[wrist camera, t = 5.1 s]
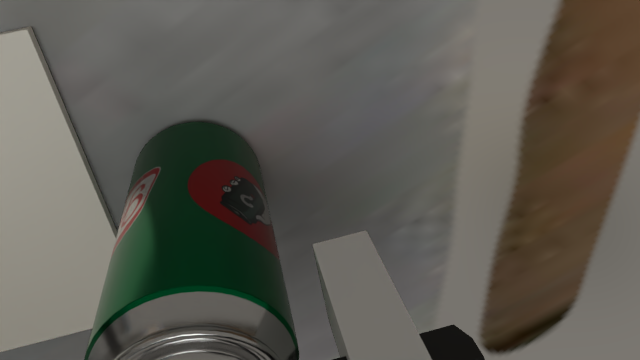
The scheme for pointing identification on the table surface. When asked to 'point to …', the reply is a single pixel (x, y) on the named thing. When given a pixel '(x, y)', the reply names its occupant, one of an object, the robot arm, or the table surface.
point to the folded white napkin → (45, 206)
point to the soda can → (194, 258)
